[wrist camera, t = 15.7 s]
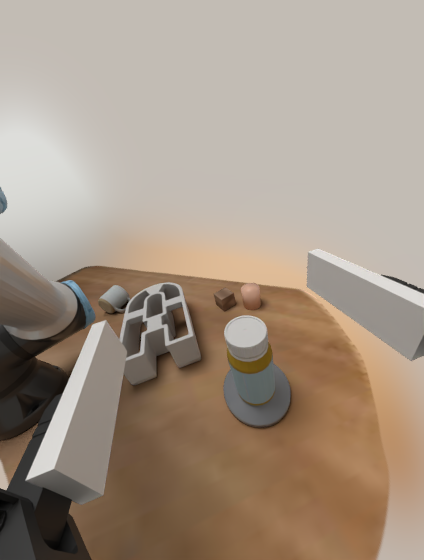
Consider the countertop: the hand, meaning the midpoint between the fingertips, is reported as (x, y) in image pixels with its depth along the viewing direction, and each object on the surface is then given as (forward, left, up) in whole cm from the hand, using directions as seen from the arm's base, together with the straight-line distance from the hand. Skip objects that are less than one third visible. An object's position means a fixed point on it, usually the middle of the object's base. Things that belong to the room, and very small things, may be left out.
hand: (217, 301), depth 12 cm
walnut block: (+7, +37, -30) cm, 48 cm away
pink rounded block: (+14, +33, -30) cm, 47 cm away
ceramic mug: (-29, +56, -30) cm, 70 cm away
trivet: (+4, +10, -30) cm, 32 cm away
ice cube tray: (-13, +34, -30) cm, 47 cm away
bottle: (+4, +10, -29) cm, 31 cm away
